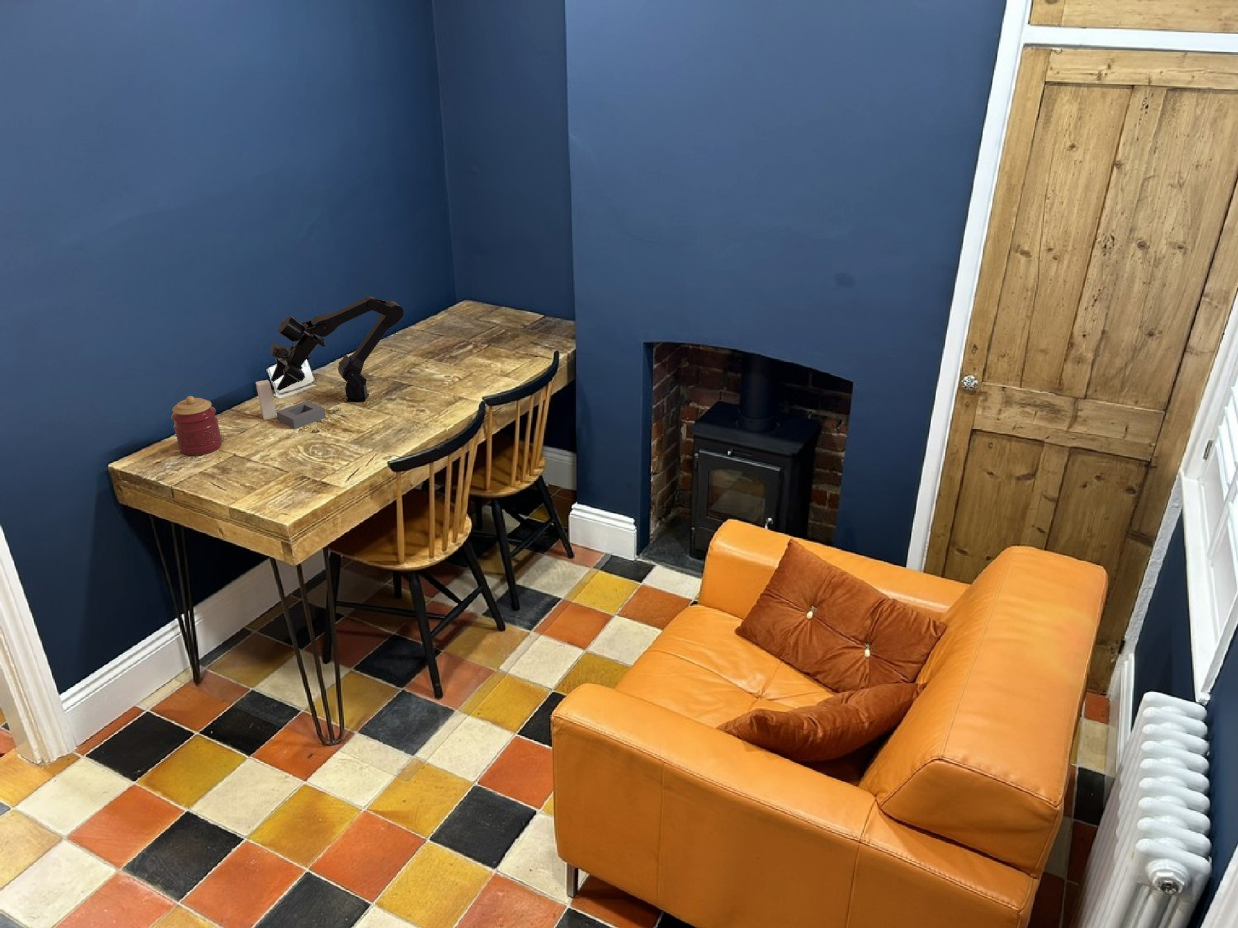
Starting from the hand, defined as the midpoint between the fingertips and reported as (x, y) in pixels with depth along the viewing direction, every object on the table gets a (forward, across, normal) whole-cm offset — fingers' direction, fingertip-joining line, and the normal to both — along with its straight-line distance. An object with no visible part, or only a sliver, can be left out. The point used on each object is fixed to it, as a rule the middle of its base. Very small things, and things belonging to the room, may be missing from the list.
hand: (274, 385), depth 317 cm
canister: (+27, +14, -11) cm, 32 cm away
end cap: (+4, +8, +12) cm, 14 cm away
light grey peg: (+10, 0, +5) cm, 11 cm away
